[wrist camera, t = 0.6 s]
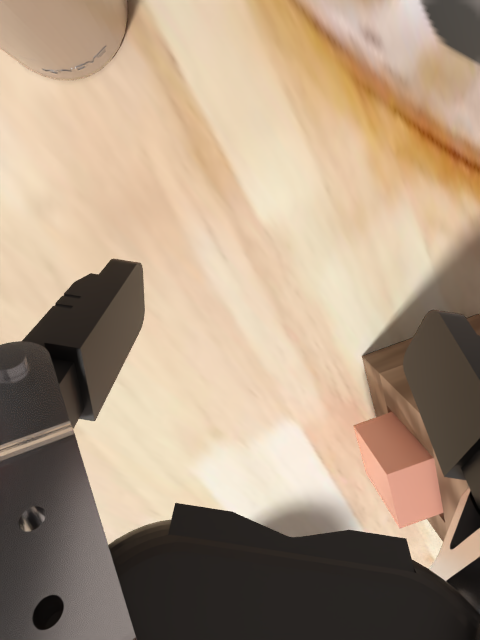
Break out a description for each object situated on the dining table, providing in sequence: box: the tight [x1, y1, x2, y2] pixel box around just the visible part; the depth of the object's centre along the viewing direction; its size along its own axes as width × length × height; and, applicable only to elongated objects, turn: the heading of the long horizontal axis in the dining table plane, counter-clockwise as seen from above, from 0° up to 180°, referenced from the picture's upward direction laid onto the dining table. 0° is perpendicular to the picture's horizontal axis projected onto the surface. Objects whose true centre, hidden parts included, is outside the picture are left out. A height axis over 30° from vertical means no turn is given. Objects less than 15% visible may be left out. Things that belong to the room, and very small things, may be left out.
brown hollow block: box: [362, 314, 480, 541], centre depth 31 cm, size 14×12×14 cm
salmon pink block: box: [354, 412, 443, 528], centre depth 31 cm, size 6×12×6 cm, turn 109°
